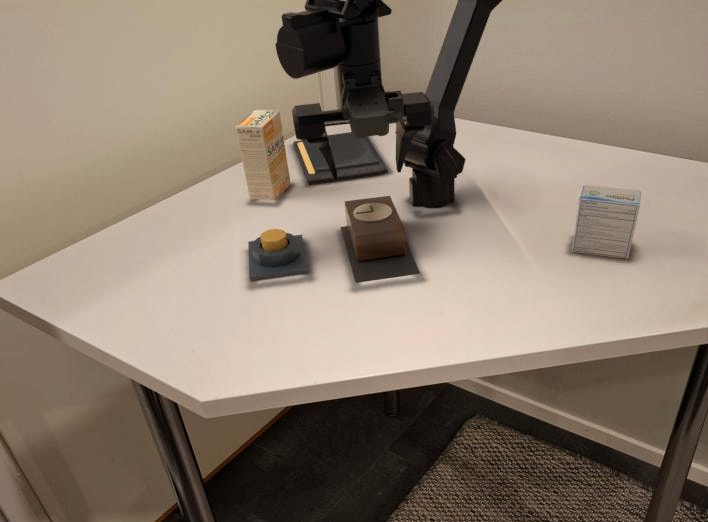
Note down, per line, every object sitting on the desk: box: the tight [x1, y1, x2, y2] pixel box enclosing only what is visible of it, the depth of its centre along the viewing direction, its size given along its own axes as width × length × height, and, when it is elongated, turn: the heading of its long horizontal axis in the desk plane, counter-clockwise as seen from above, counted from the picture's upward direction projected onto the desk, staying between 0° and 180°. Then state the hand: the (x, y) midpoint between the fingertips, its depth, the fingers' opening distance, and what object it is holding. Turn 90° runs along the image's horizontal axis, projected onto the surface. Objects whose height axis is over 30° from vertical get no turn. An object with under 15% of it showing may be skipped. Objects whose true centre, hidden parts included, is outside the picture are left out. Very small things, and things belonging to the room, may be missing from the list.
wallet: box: [292, 131, 389, 186], centre depth 119 cm, size 20×2×15 cm
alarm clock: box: [344, 195, 406, 261], centre depth 92 cm, size 7×11×4 cm, turn 11°
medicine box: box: [571, 184, 642, 260], centre depth 88 cm, size 8×4×9 cm, turn 71°
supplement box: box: [235, 109, 292, 201], centre depth 105 cm, size 8×5×13 cm, turn 168°
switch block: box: [247, 232, 309, 282], centre depth 90 cm, size 10×8×4 cm
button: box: [259, 228, 288, 251], centre depth 89 cm, size 4×4×2 cm
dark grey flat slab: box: [340, 225, 421, 284], centre depth 92 cm, size 9×16×1 cm, turn 11°
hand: (367, 175), depth 91 cm, fingers open, 9 cm apart
